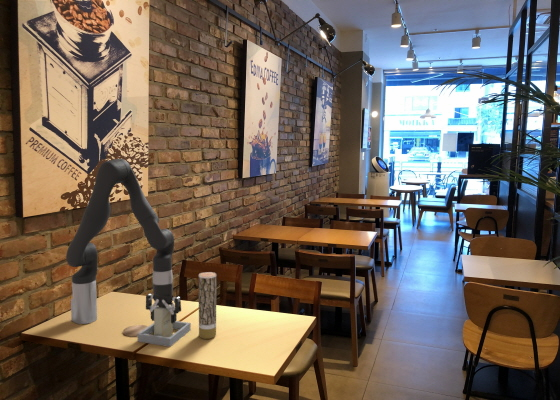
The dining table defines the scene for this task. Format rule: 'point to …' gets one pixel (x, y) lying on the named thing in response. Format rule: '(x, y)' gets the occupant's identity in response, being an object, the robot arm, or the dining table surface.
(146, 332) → the parts bin
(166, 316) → the skincare box
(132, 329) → the cork coaster
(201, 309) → the paper tube
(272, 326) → the dining table surface
